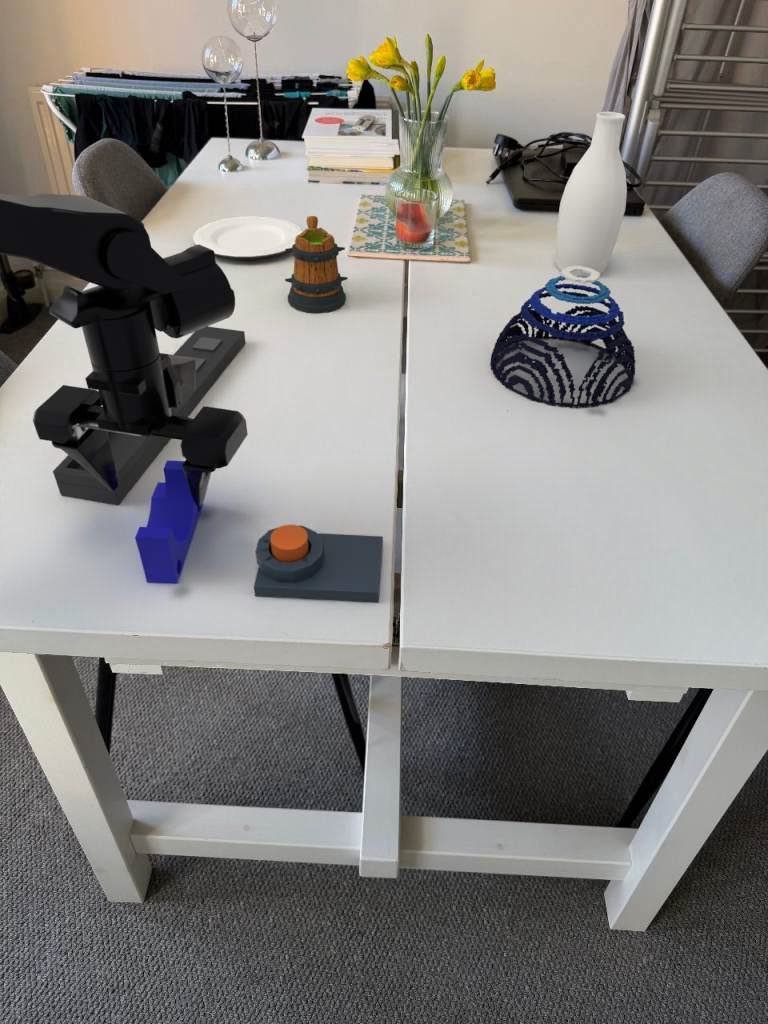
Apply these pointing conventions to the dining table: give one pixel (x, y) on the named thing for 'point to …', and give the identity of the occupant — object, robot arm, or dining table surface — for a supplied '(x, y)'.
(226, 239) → the plate
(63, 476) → the power strip
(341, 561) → the switch block
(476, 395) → the dining table surface
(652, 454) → the dining table surface
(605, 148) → the bottle
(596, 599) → the dining table surface
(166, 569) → the cable clip
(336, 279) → the mug
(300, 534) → the power button
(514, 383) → the decorative bowl
